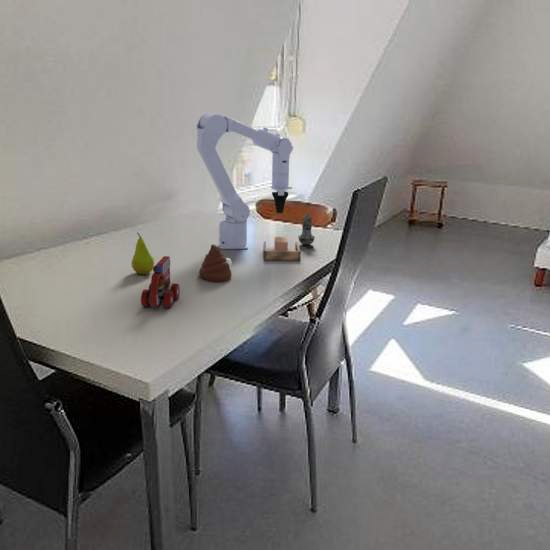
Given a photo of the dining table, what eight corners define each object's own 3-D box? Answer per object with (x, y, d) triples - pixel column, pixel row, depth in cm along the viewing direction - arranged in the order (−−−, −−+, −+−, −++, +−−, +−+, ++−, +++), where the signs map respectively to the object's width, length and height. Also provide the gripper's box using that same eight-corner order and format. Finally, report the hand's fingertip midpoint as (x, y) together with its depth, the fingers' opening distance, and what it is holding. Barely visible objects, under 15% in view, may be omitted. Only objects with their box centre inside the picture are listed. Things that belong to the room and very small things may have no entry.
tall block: (274, 248, 164) (275, 254, 158) (274, 236, 163) (275, 242, 157) (286, 248, 165) (287, 254, 158) (286, 236, 163) (287, 242, 157)
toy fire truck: (138, 312, 112) (135, 269, 109) (155, 293, 124) (152, 253, 121) (167, 313, 112) (165, 270, 108) (182, 294, 123) (180, 255, 120)
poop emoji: (192, 275, 137) (191, 243, 134) (217, 270, 143) (217, 239, 140) (213, 285, 130) (212, 251, 127) (238, 278, 136) (238, 246, 133)
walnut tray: (263, 260, 152) (264, 251, 151) (263, 250, 164) (263, 241, 163) (300, 260, 153) (300, 251, 152) (297, 250, 164) (297, 241, 163)
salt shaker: (308, 250, 165) (309, 215, 161) (294, 247, 168) (295, 212, 164) (317, 246, 169) (319, 212, 165) (303, 243, 173) (305, 210, 169)
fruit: (159, 272, 139) (157, 231, 135) (144, 278, 134) (140, 236, 130) (143, 268, 142) (140, 228, 139) (127, 274, 137) (123, 232, 133)
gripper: (293, 176, 161) (292, 217, 165) (290, 171, 174) (289, 208, 179) (272, 176, 160) (271, 216, 165) (270, 170, 174) (270, 208, 178)
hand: (279, 212), depth 172 cm, fingers closed
